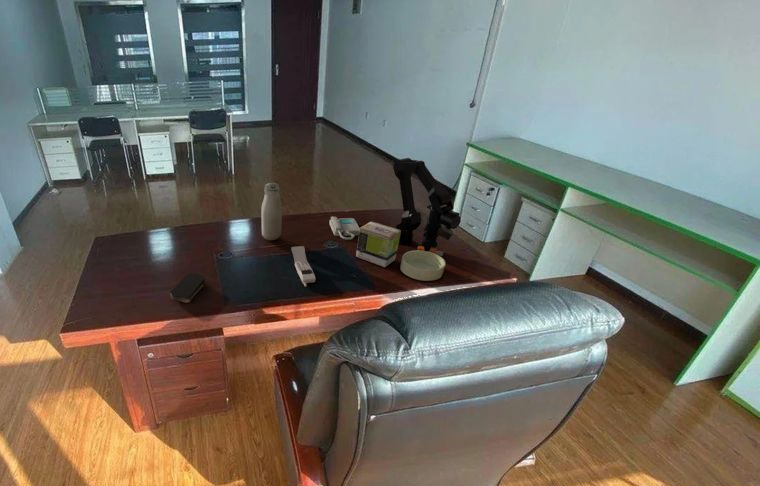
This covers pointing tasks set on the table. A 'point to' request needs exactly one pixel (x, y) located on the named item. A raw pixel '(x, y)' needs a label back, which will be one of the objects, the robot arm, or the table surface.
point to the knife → (431, 250)
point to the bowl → (422, 265)
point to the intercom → (344, 227)
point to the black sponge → (187, 287)
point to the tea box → (378, 243)
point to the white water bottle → (271, 212)
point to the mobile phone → (303, 265)
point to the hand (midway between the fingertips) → (426, 251)
